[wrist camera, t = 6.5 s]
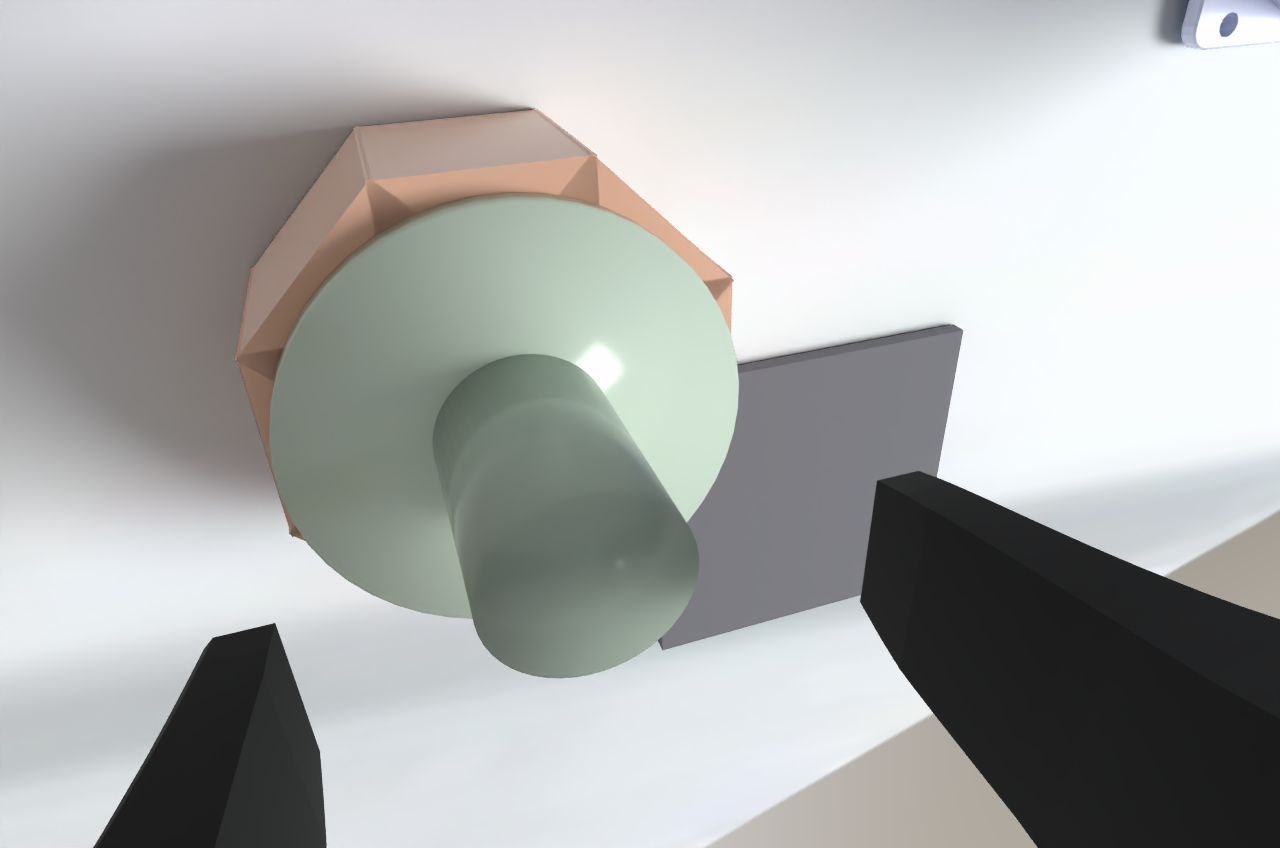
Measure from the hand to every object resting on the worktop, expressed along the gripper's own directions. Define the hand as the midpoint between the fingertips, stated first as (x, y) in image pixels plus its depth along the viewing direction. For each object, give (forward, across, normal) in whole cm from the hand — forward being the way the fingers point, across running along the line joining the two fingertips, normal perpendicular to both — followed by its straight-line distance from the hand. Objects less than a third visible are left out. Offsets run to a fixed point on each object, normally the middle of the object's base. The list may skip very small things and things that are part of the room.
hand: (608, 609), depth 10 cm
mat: (+9, -8, +6) cm, 14 cm away
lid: (+5, 0, 0) cm, 5 cm away
